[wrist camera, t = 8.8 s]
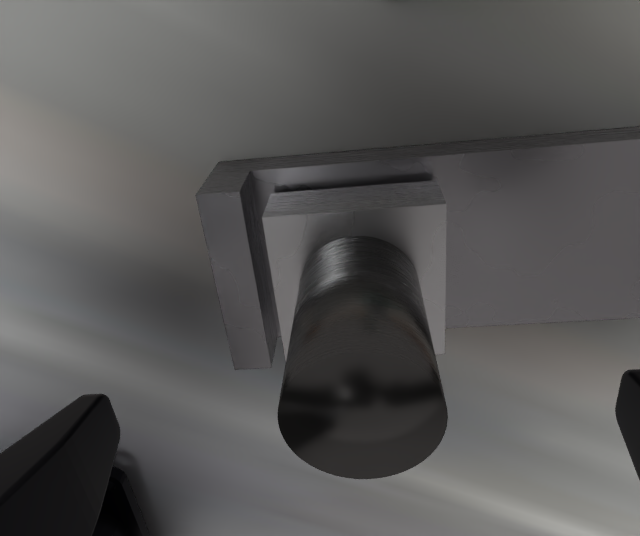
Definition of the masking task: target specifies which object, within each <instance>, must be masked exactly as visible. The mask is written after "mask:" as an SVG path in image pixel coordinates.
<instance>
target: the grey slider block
mask: <svg viewBox="0 0 640 536" xmlns="http://www.w3.org/2000/svg"><path fill="white" fill-rule="evenodd" d="M446 210H447V204H446V201H445V199H444V197H443V194H442V192H441V189H440V187H439V184H438V182H437V180H434V181H421V182H408V183H395V184H383V185H370V186H357V187H344V188H331V189H318V190H306V191H293V192H280V193H271V194H270V197H269V200H268V202H267V205H266V208H265V211H264V213H263V216H262V221H263V227H264V233H265V239H266V245H267V251H268V258H269V264H270V270H271V276H272V282H273V288H274V294H275V300H276V306H277V312H278V318H279V324H280V330H281V336H282V342H283V348H284V354H285V360H286V365H285V371H284V377H283V383H282V389H281V395H280V401H279V406H278V424H279V428H280V431H281V434H282V436H283V438H284V440H285V441H286V443H287V444H288V446H289V447H290V448H291V450H292V451H293V452H294V453H295V454H296V455H297V456H298V457H300V458H301V459H302V460H303V461H305V462H306V463H308V464H309V465H311V466H313V467H315V468H317V469H319V470H321V471H324V472H326V473H329V474H333V475H336V476H340V477H345V478H354V479H373V478H382V477H387V476H391V475H395V474H398V473H401V472H404V471H406V470H408V469H410V468H412V467H414V466H416V465H418V464H419V463H421V462H422V461H424V460H425V459H426V458H427V457H428V456H430V455H431V454H432V452H433V451H434V450H435V449H436V448H437V446H438V445H439V444H440V442H441V440H442V438H443V436H444V434H445V430H446V427H447V419H448V415H447V407H446V402H445V397H444V393H443V388H442V384H441V379H440V375H439V370H438V365H437V361H436V356H435V354H445V295H446Z"/></svg>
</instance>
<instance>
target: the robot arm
mask: <svg viewBox="0 0 640 536" xmlns="http://www.w3.org/2000/svg"><path fill="white" fill-rule="evenodd" d="M615 412H616V419H617V422H618V425H619V427H620V430H621V433H622V435H623V438H624V441H625V443H626V446H627V448H628V451H629V454H630V456H631V459H632V462H633V464H634V467H635V470H636V472H637V475H638V477H639V480H640V369H637V370H627V371H626V372H624V374H623V376H622V379H621V383H620V388H619V393H618V397H617V402H616V408H615ZM119 440H120V427H119V424H118V421H117V418H116V416H115V413H114V410H113V408H112V405H111V402H110V400H109V398H108V397H107V396H106V395H104V394H87V395H83V396H81V397H79V398H78V399H76V400H75V401H73V402H72V403H71V404H69V405H68V406H66V407H65V408H64V409H62V410H61V411H59V412H58V413H57V414H55V415H54V416H52V417H51V418H50V419H48V420H47V421H45V422H44V423H43V424H41V425H40V426H38V427H37V428H36V429H34V430H33V431H31V432H30V433H29V434H27V435H26V436H25V437H23V438H22V439H20V440H19V441H18V442H16V443H15V444H13V445H12V446H11V447H9V448H8V449H6V450H5V451H4V452H2V453H1V454H0V536H150V535H149V532H148V530H147V527H146V525H145V522H144V519H143V517H142V514H141V512H140V509H139V507H138V504H137V502H136V499H135V497H134V494H133V491H132V489H131V486H130V484H129V481H128V479H127V476H126V475H125V473H124V472H123V471H122V470H120V469H118V468H116V467H112V466H113V463H114V459H115V455H116V452H117V448H118V444H119Z"/></svg>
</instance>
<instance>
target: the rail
mask: <svg viewBox="0 0 640 536" xmlns="http://www.w3.org/2000/svg"><path fill="white" fill-rule="evenodd" d="M434 180H437V182H438V184H439V187H440V189H441V192H442V194H443V197H444V199H445V201H446V204H447V210H446V295H445V328H456V327H475V326H494V325H513V324H532V323H551V322H570V321H590V320H609V319H628V318H640V127H629V128H618V129H606V130H594V131H582V132H570V133H558V134H546V135H534V136H523V137H511V138H499V139H487V140H475V141H463V142H451V143H439V144H428V145H416V146H404V147H392V148H380V149H368V150H356V151H344V152H333V153H321V154H309V155H297V156H285V157H273V158H261V159H249V160H238V161H226V162H218V164H217V165H216V167H215V168H214V169H213V171H212V172H211V174H210V175H209V176H208V178H207V179H206V181H205V182H204V184H203V185H202V186H201V188H200V189H199V191H198V192H197V193H196V199H197V204H198V208H199V213H200V217H201V222H202V226H203V231H204V235H205V240H206V244H207V248H208V253H209V257H210V262H211V266H212V271H213V275H214V280H215V284H216V289H217V293H218V298H219V302H220V306H221V311H222V315H223V320H224V324H225V329H226V333H227V338H228V342H229V347H230V351H231V356H232V360H233V364H234V369H235V370H237V369H259V368H271V367H272V362H273V357H274V352H275V347H276V342H277V338H278V337H282V336H281V330H280V324H279V318H278V312H277V306H276V300H275V294H274V288H273V282H272V276H271V270H270V264H269V258H268V251H267V245H266V239H265V233H264V227H263V221H262V216H263V213H264V211H265V208H266V205H267V202H268V200H269V197H270V194H271V193H280V192H293V191H306V190H318V189H331V188H344V187H357V186H370V185H383V184H395V183H408V182H421V181H434Z"/></svg>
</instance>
